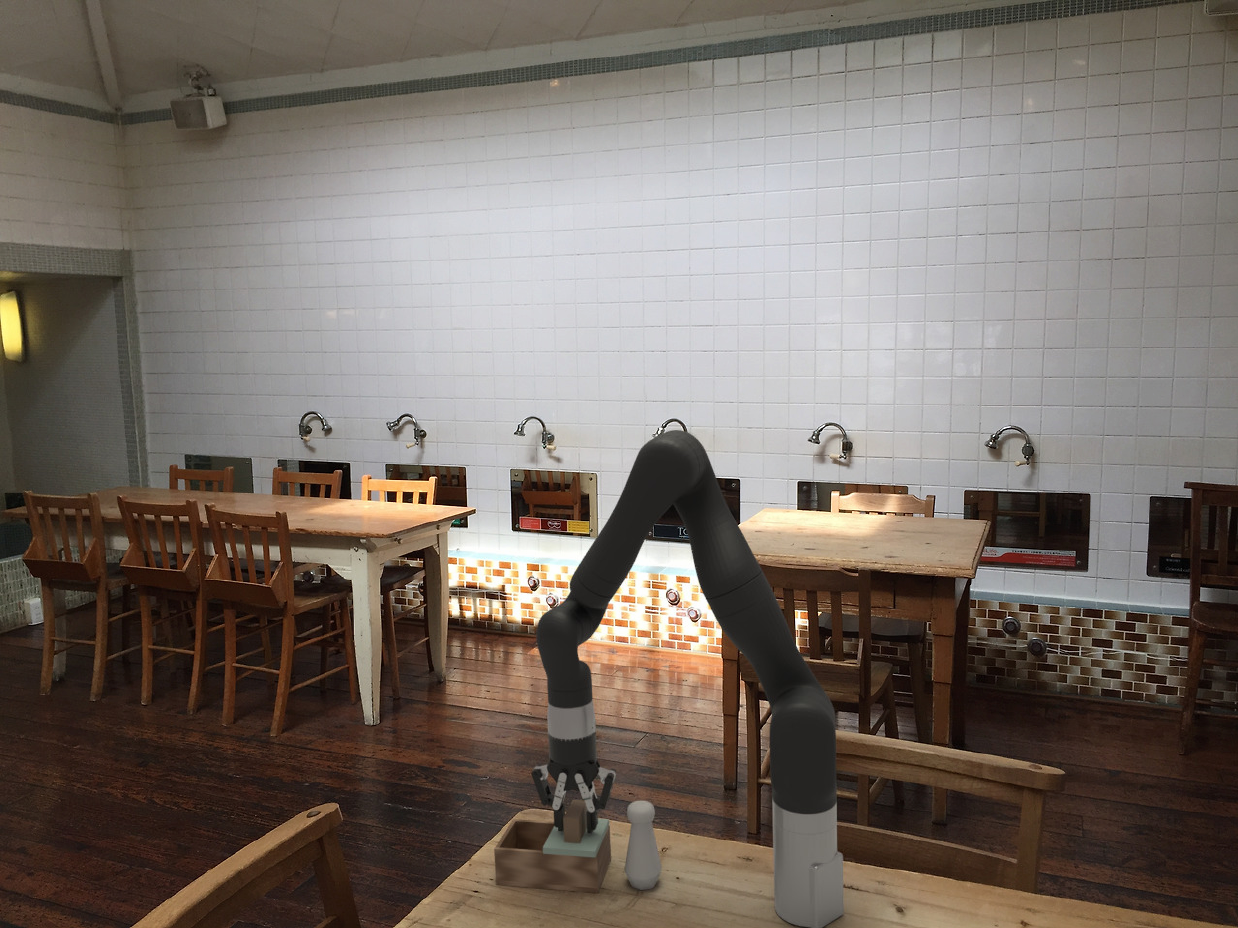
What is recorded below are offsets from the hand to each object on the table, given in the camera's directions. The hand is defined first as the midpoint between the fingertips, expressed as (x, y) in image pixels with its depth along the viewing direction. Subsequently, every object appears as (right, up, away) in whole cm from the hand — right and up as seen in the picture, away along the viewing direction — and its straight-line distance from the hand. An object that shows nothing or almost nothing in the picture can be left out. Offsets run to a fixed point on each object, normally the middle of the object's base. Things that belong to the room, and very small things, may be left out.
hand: (576, 829), depth 150 cm
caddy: (-4, -8, +2) cm, 9 cm away
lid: (0, -2, 0) cm, 2 cm away
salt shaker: (+11, -8, -2) cm, 13 cm away
